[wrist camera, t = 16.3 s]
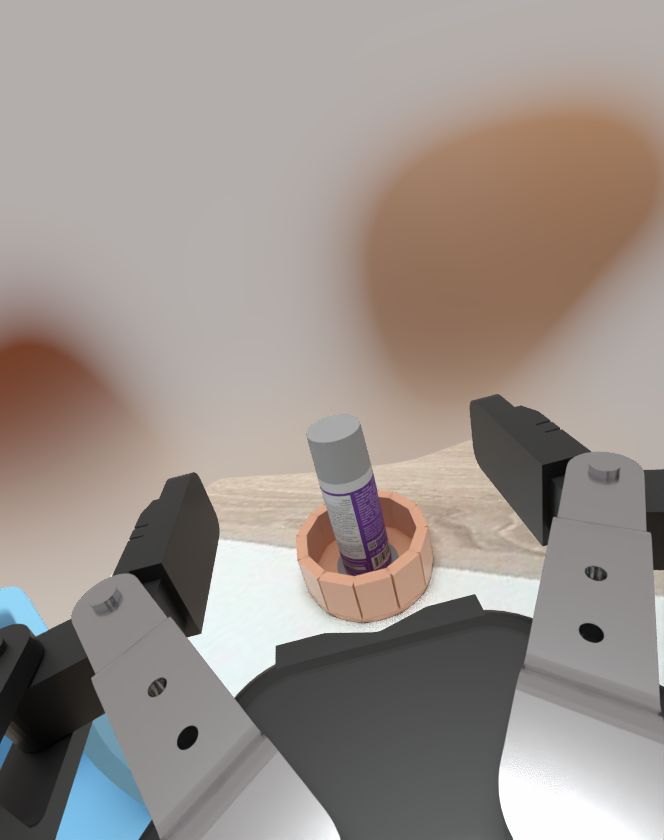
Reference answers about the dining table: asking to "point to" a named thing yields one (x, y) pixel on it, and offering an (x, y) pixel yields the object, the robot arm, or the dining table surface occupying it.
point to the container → (350, 493)
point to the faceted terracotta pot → (372, 590)
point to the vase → (87, 762)
